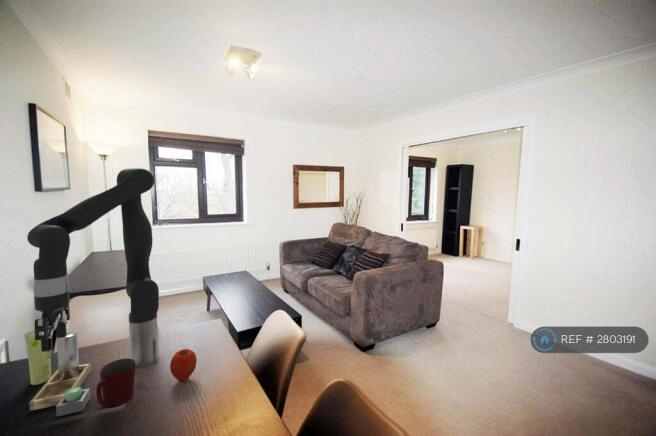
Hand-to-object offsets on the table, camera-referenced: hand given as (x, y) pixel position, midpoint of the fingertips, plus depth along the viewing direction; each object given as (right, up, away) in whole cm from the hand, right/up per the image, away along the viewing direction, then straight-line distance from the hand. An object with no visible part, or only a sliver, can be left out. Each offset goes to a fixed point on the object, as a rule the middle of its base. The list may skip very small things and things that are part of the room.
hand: (54, 343), depth 85 cm
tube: (-16, -19, +11) cm, 27 cm away
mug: (+16, -20, +3) cm, 26 cm away
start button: (+6, -17, 0) cm, 18 cm away
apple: (+32, -20, +14) cm, 40 cm away
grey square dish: (+6, -20, 0) cm, 21 cm away
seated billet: (-6, -18, +11) cm, 22 cm away
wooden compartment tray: (-5, -19, +8) cm, 21 cm away
